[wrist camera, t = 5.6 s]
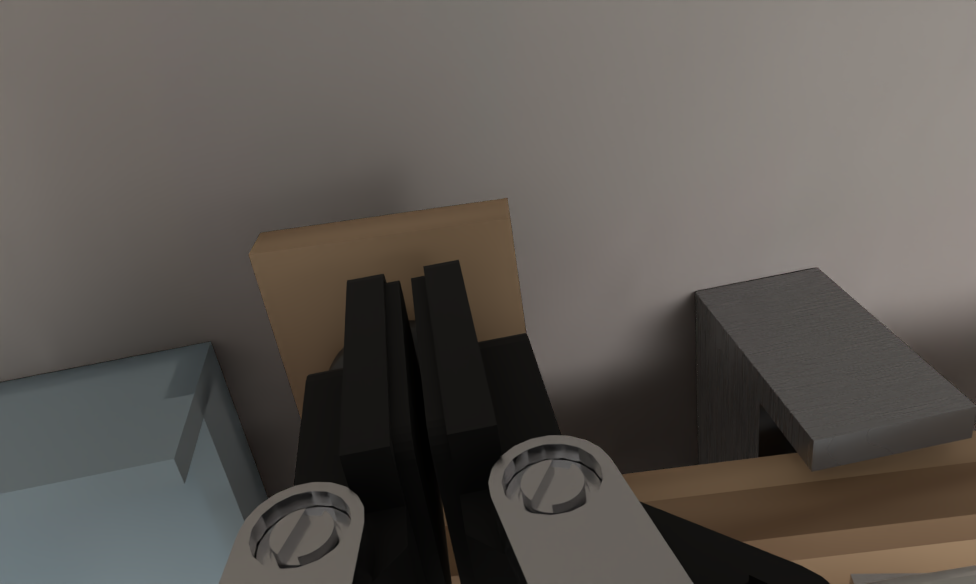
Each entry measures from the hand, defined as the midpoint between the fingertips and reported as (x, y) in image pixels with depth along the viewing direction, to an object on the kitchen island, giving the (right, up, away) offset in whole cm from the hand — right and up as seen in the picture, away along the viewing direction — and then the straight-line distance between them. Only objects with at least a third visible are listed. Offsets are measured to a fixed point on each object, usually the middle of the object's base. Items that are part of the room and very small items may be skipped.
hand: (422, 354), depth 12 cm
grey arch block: (+8, -3, +9) cm, 12 cm away
